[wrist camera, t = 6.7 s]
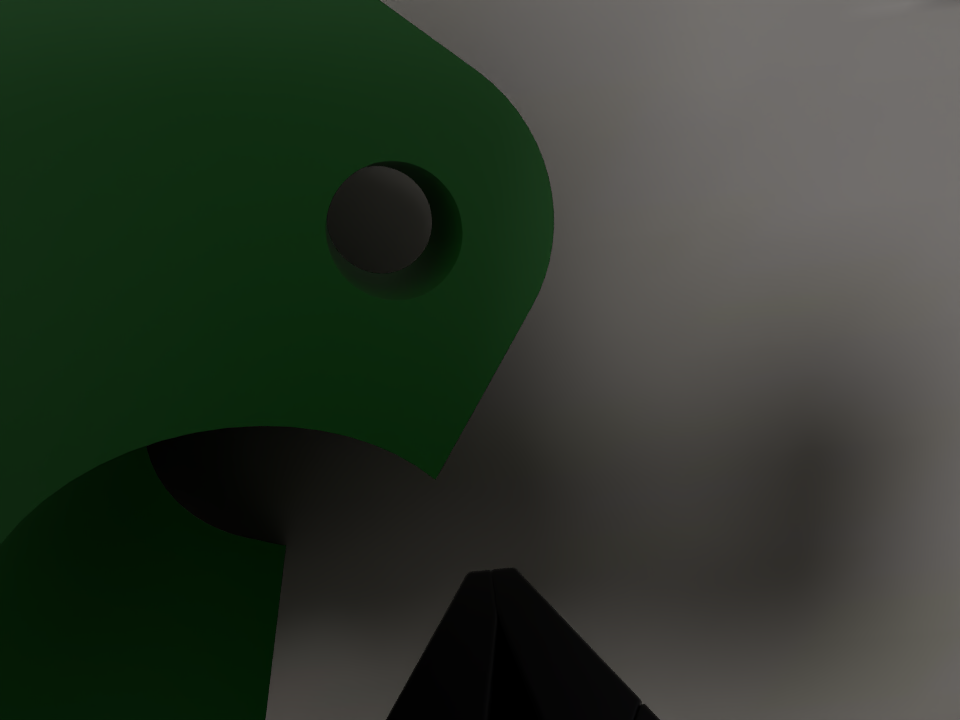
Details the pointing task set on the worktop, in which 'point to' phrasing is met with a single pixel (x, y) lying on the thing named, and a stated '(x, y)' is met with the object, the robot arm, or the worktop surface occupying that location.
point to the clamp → (221, 311)
